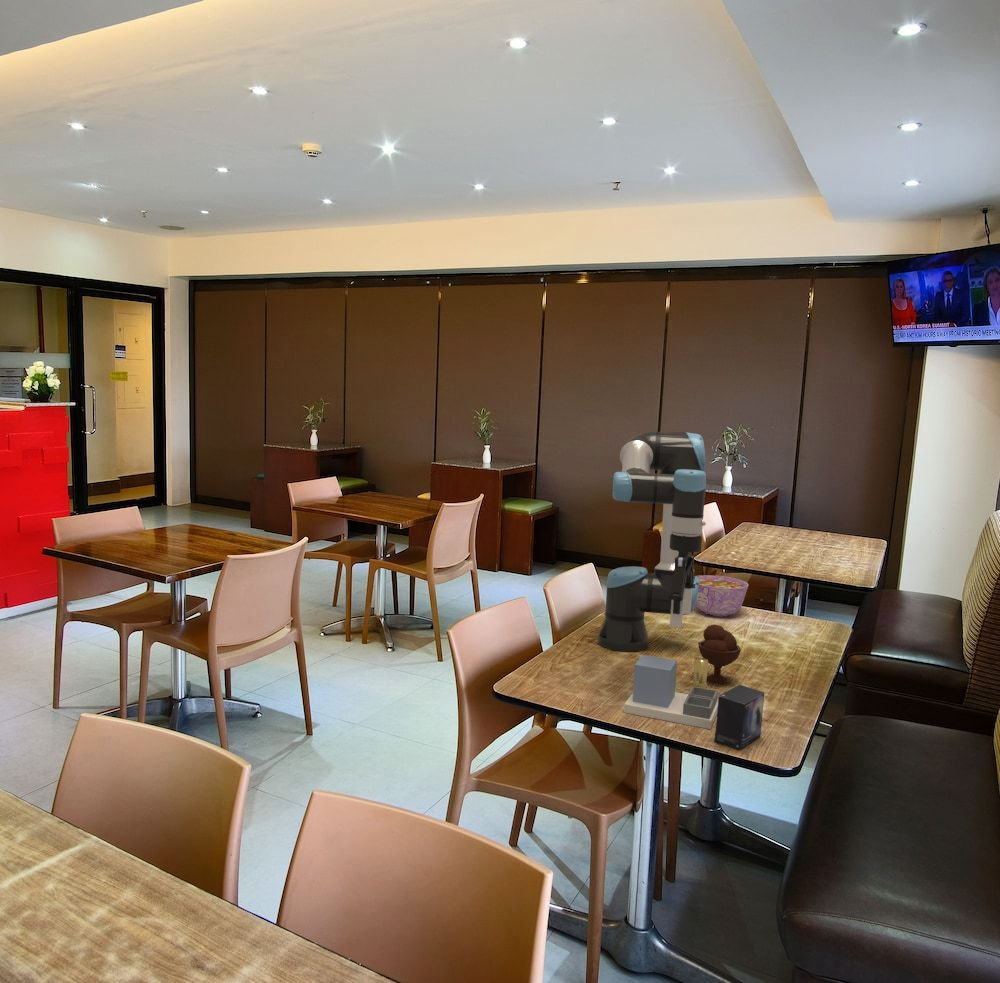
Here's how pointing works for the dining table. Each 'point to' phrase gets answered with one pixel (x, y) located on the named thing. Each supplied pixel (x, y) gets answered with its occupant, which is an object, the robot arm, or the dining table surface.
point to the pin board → (681, 708)
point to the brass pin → (700, 672)
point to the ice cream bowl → (718, 650)
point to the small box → (739, 716)
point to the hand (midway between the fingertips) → (680, 620)
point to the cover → (654, 681)
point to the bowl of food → (720, 594)
